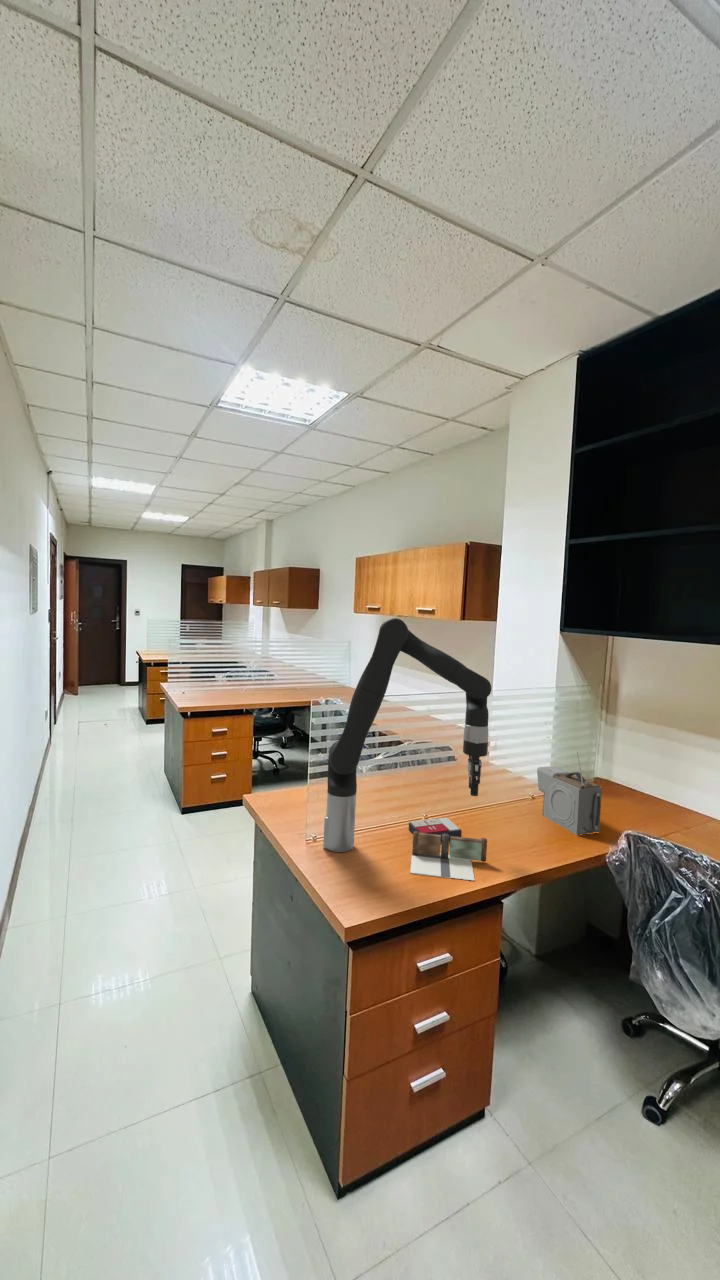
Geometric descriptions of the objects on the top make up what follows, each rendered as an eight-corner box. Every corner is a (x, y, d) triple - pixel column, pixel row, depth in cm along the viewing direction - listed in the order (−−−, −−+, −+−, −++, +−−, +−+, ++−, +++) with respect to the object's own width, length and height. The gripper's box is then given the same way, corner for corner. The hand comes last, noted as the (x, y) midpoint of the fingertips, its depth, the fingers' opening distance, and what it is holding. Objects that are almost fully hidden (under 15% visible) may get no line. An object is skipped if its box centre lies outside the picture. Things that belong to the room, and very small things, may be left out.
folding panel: (449, 857, 147) (450, 836, 146) (449, 855, 148) (450, 834, 148) (486, 861, 145) (487, 840, 145) (485, 859, 147) (486, 838, 147)
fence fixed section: (412, 856, 148) (413, 833, 148) (412, 852, 150) (413, 830, 150) (448, 860, 146) (449, 836, 146) (448, 857, 149) (449, 834, 148)
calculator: (408, 820, 168) (447, 815, 172) (408, 832, 168) (447, 827, 172) (420, 833, 157) (462, 828, 162) (420, 846, 158) (462, 840, 162)
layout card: (410, 873, 137) (410, 872, 137) (412, 851, 151) (412, 850, 151) (474, 881, 135) (474, 880, 135) (470, 858, 148) (470, 857, 148)
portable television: (555, 810, 195) (560, 736, 194) (602, 834, 172) (607, 751, 172) (531, 812, 191) (535, 737, 190) (575, 837, 168) (580, 752, 168)
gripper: (462, 733, 159) (459, 783, 159) (465, 743, 144) (462, 798, 145) (485, 735, 157) (482, 786, 158) (490, 745, 143) (488, 801, 144)
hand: (473, 791), depth 151 cm, fingers open, 6 cm apart
